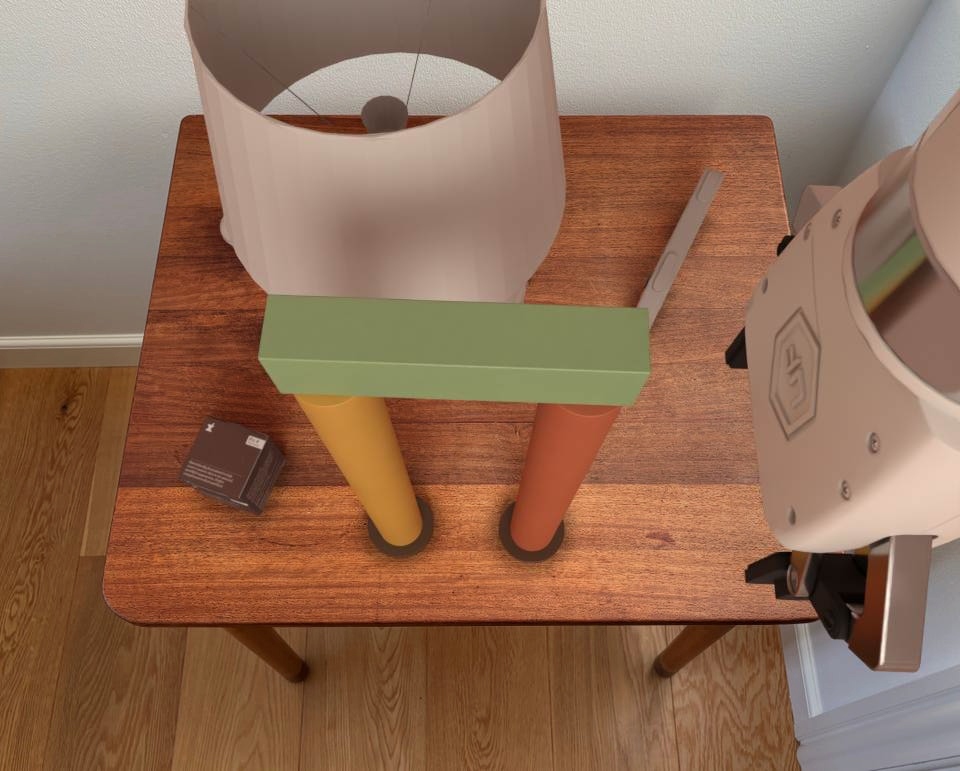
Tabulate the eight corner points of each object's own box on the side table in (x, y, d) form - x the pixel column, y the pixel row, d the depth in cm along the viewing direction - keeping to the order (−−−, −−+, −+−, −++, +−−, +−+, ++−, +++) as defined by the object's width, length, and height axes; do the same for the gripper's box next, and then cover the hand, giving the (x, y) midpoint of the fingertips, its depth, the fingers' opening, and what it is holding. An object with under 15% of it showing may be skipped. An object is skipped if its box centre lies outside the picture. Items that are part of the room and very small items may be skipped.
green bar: (632, 406, 35) (651, 373, 31) (280, 393, 35) (256, 359, 31) (630, 346, 36) (648, 307, 32) (288, 334, 36) (267, 293, 32)
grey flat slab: (691, 197, 84) (712, 147, 76) (710, 205, 84) (734, 156, 76) (619, 339, 78) (635, 301, 70) (640, 349, 77) (658, 312, 70)
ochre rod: (431, 559, 69) (387, 430, 34) (366, 557, 70) (253, 425, 34) (435, 494, 72) (398, 310, 36) (371, 492, 72) (271, 305, 36)
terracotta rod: (563, 565, 69) (656, 441, 34) (497, 562, 69) (521, 435, 34) (563, 499, 72) (651, 319, 36) (499, 497, 72) (524, 315, 36)
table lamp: (463, 485, 72) (452, 273, 35) (243, 364, 76) (23, 60, 39) (582, 279, 80) (677, -72, 43) (377, 180, 84) (301, -217, 47)
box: (202, 496, 71) (173, 476, 65) (231, 438, 74) (206, 412, 67) (261, 517, 71) (238, 499, 64) (288, 458, 73) (269, 435, 66)
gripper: (821, -21, 21) (671, 287, 37) (940, 655, 14) (696, 672, 30) (1100, -12, 21) (828, 292, 37) (1343, 670, 14) (886, 679, 30)
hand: (768, 464), depth 33 cm, fingers open, 9 cm apart
